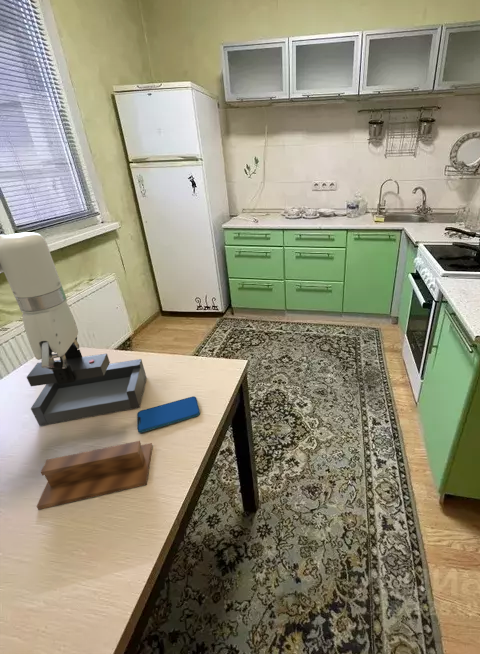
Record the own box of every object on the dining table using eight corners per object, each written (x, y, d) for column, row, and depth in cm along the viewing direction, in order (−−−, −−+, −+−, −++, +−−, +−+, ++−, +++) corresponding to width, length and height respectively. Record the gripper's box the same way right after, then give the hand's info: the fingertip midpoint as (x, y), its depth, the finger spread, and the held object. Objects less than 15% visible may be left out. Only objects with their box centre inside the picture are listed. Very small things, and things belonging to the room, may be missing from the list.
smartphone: (200, 413, 83) (137, 431, 78) (200, 416, 84) (138, 434, 78) (195, 395, 89) (137, 411, 84) (196, 398, 90) (137, 414, 85)
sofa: (39, 426, 82) (28, 405, 79) (58, 392, 93) (50, 372, 90) (139, 407, 87) (133, 387, 84) (146, 377, 98) (141, 358, 95)
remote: (30, 386, 67) (25, 376, 66) (41, 371, 71) (37, 362, 70) (103, 376, 70) (100, 366, 68) (110, 362, 74) (106, 352, 73)
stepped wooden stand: (38, 509, 63) (26, 490, 60) (57, 465, 72) (48, 446, 69) (146, 484, 67) (139, 465, 64) (152, 445, 76) (147, 427, 73)
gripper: (40, 284, 69) (68, 354, 77) (-6, 322, 54) (34, 404, 62) (78, 280, 71) (101, 349, 79) (44, 316, 56) (77, 397, 64)
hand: (71, 373), depth 70 cm, fingers closed on remote, 5 cm apart
